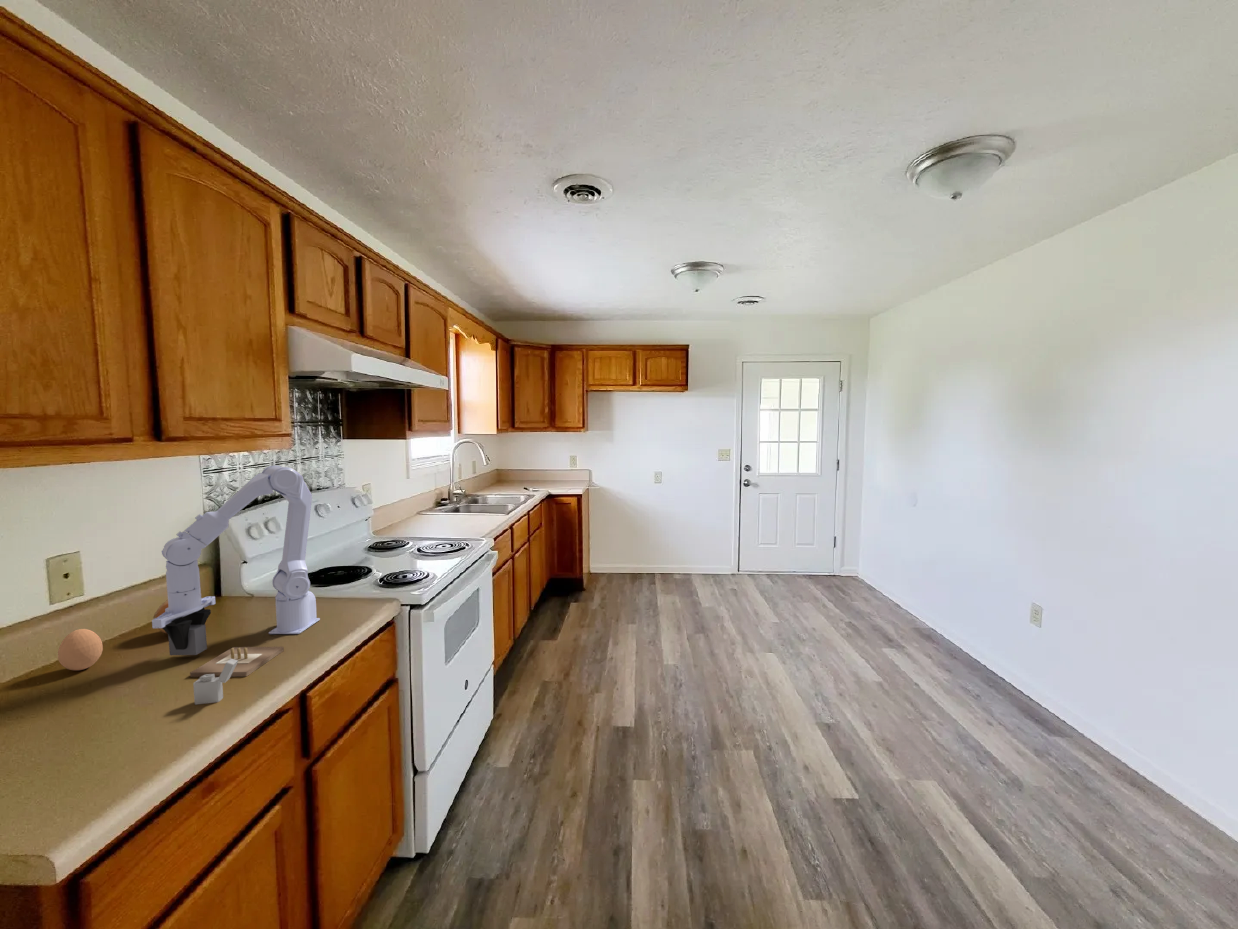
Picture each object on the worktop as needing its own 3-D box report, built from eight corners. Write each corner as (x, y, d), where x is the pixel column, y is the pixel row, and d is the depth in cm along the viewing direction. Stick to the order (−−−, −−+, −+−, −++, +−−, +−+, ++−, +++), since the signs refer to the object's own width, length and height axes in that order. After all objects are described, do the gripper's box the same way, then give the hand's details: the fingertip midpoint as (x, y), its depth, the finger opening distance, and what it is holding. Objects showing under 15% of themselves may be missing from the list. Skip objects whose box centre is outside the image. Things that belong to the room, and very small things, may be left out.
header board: (233, 651, 115) (232, 637, 115) (283, 650, 116) (283, 636, 115) (190, 677, 103) (189, 661, 103) (246, 676, 104) (245, 661, 103)
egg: (112, 662, 110) (109, 624, 109) (77, 677, 103) (74, 636, 102) (86, 661, 110) (83, 623, 109) (50, 676, 103) (46, 635, 103)
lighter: (194, 704, 93) (191, 665, 92) (199, 699, 95) (197, 661, 94) (235, 700, 95) (233, 661, 94) (240, 695, 96) (238, 657, 96)
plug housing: (181, 649, 113) (179, 624, 113) (207, 648, 114) (205, 624, 113) (169, 655, 110) (167, 630, 110) (196, 654, 111) (194, 630, 110)
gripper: (193, 579, 118) (197, 632, 119) (135, 600, 103) (140, 660, 105) (222, 579, 118) (225, 631, 119) (169, 600, 104) (173, 660, 105)
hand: (188, 645), depth 112 cm, fingers closed on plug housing, 3 cm apart
